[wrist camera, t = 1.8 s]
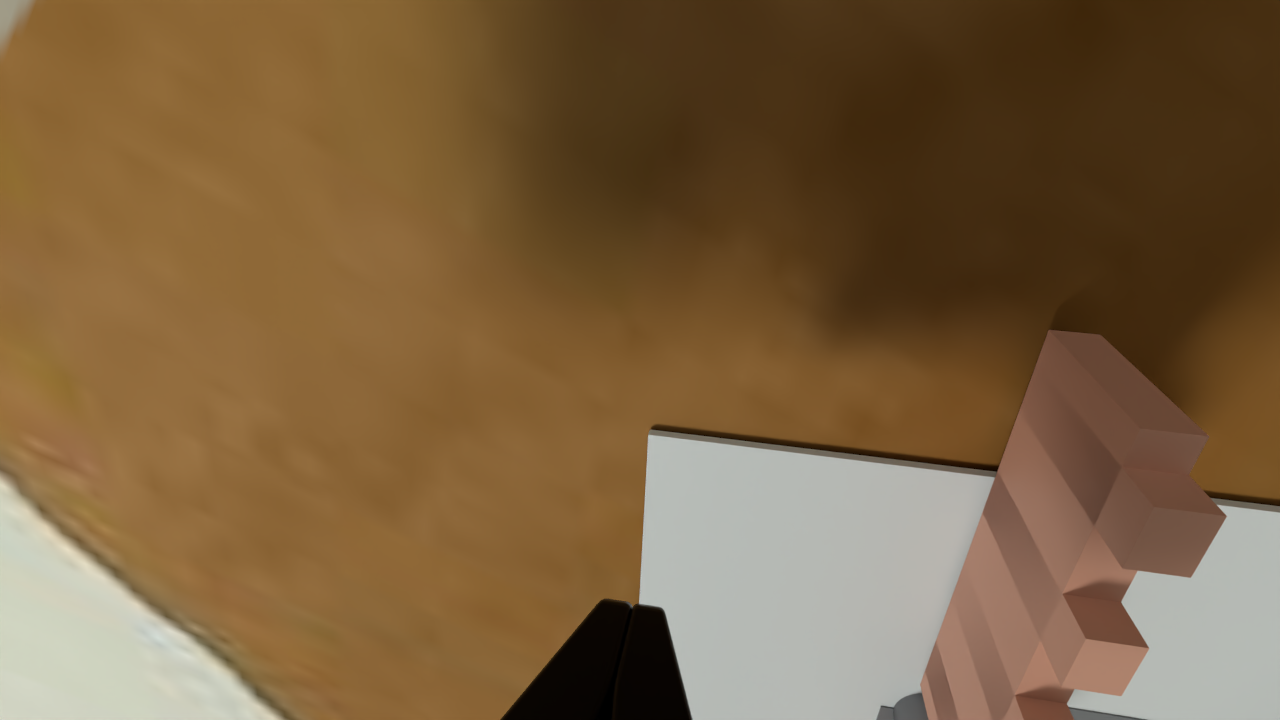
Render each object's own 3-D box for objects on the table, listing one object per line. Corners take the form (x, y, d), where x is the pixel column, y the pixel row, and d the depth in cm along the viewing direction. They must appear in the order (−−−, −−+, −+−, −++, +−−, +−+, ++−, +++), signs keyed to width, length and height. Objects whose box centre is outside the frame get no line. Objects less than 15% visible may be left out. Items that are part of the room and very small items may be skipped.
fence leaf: (956, 690, 15) (1012, 881, 12) (919, 684, 15) (965, 872, 12) (1100, 334, 11) (1251, 475, 8) (1048, 329, 11) (1174, 466, 8)
